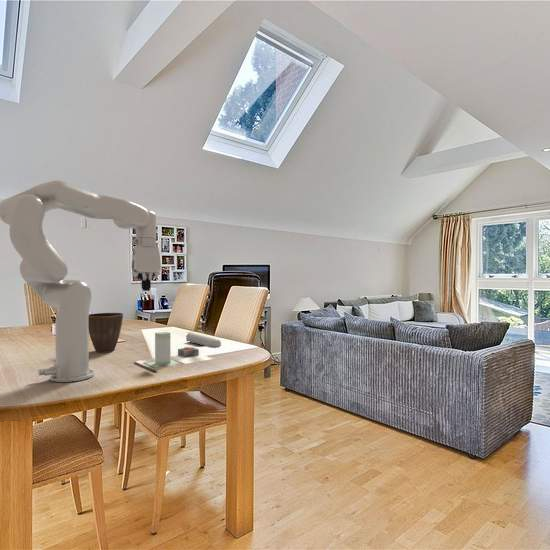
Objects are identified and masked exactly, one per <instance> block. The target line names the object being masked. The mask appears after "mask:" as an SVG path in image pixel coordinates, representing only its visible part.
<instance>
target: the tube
mask: <svg viewBox="0 0 550 550" xmlns="http://www.w3.org/2000/svg"><path fill="white" fill-rule="evenodd" d="M185 339H186V340H185V341H186V342H188V341H190V342H193V343H192V344H194V343H197V344H196V345H198V344H200V345H199V346H201V345H204V346H203V347H209V348H219V347H221V346H222V341H221V340H220V339H219V338H216V337H213V336H212V337H211V336H207V335H205V334H200V333H195V332H194V331H191V332H188V333H187V335H186V337H185ZM190 342H189V343H190Z"/></svg>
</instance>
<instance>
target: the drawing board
mask: <svg viewBox="0 0 550 550" xmlns="http://www.w3.org/2000/svg"><path fill="white" fill-rule="evenodd" d="M191 347H192V350H184V347H182V348H177V354H176V355H175V354H174V355H170V360H171V363H170V364H164V365H158V364H156V363H155V357H154V358H148V359H143V360H136V361H133V364H134V366H137V367H139V368H141V369H144V370H146V371H148V372H150V373H152V374H154V373H156V374H157V373H158V371H157V370H158V369H162V368H163V369H164V368H170V367H177V366H180V365H181V366H182V365H188V364H194V363H200V362H205V361H211V360H215V358H214V357H211V356H207V355H204V354H200V350H199V348H196V347H193V346H191Z"/></svg>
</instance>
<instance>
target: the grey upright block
mask: <svg viewBox="0 0 550 550" xmlns="http://www.w3.org/2000/svg"><path fill="white" fill-rule="evenodd" d="M170 356H171V332H168V331H160V332H155V333H154V358H155V363H156V364H158V365H164V364H170V363H171V360H170Z"/></svg>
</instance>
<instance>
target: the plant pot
mask: <svg viewBox="0 0 550 550" xmlns="http://www.w3.org/2000/svg"><path fill="white" fill-rule="evenodd" d="M123 319H124V313H122V312H99V313H98V312H97V313H91V314H90V313H89V320H88V328H89V338H90V340H91V343H92V346H93V349H94V351H95V352H96V353H99V354H100V353H101V354H103V353H105V354H106V353H111V352H114V351H115V349H116V346H117V344H118V340H119V338H120V334H121V332H122V331H121V329H122V325H123Z"/></svg>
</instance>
